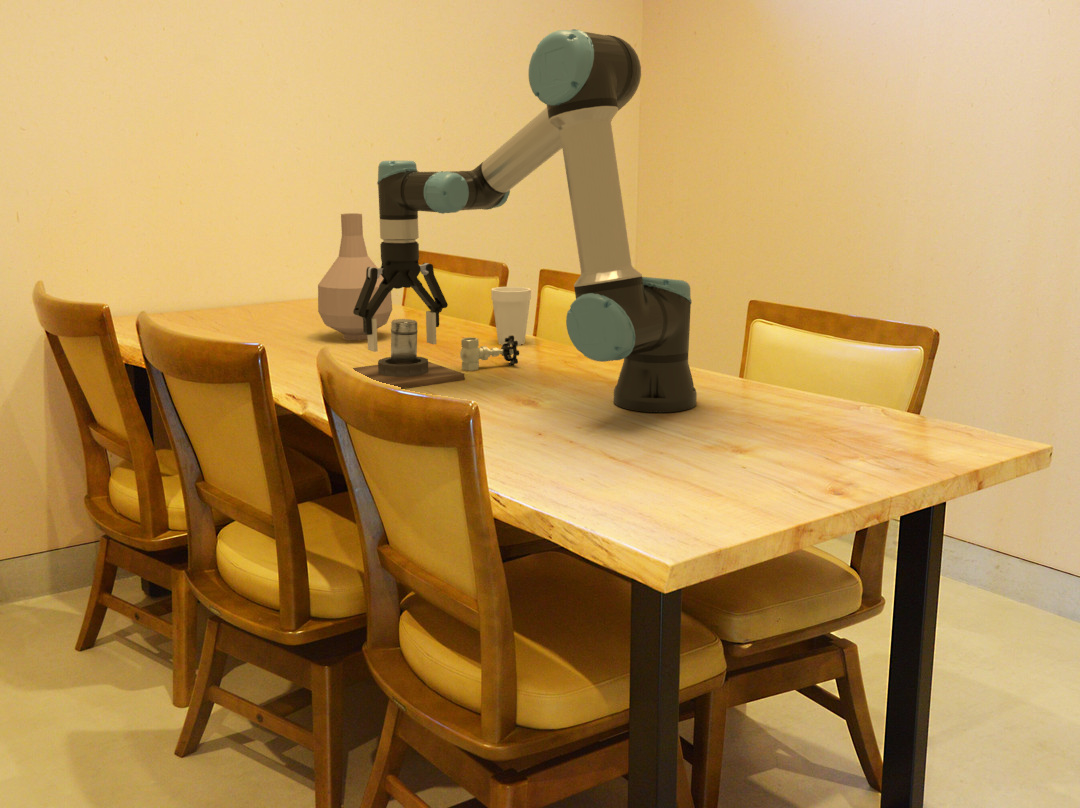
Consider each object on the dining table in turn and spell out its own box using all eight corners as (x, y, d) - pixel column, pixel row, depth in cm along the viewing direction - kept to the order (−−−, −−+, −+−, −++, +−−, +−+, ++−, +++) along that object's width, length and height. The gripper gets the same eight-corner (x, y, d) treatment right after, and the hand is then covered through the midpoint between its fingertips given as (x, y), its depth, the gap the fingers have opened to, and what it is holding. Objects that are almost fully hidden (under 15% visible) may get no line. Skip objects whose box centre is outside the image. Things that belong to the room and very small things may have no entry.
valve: (466, 373, 212) (519, 368, 217) (466, 342, 211) (519, 337, 215) (455, 367, 218) (507, 362, 223) (455, 336, 216) (507, 332, 221)
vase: (400, 341, 246) (396, 215, 239) (327, 346, 240) (320, 217, 233) (383, 329, 262) (379, 211, 255) (314, 334, 256) (308, 212, 248)
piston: (421, 372, 207) (422, 322, 205) (398, 374, 204) (399, 324, 201) (408, 366, 211) (409, 318, 209) (385, 369, 208) (386, 319, 206)
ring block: (464, 379, 206) (464, 362, 205) (384, 391, 196) (384, 374, 195) (420, 364, 220) (420, 348, 219) (343, 374, 210) (343, 358, 209)
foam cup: (487, 345, 241) (486, 291, 238) (497, 338, 250) (497, 286, 247) (525, 347, 239) (525, 292, 236) (535, 340, 248) (535, 287, 244)
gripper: (443, 236, 211) (446, 337, 216) (333, 242, 197) (338, 350, 202) (463, 239, 205) (464, 343, 211) (350, 245, 191) (355, 356, 196)
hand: (402, 347), depth 206 cm, fingers open, 13 cm apart
